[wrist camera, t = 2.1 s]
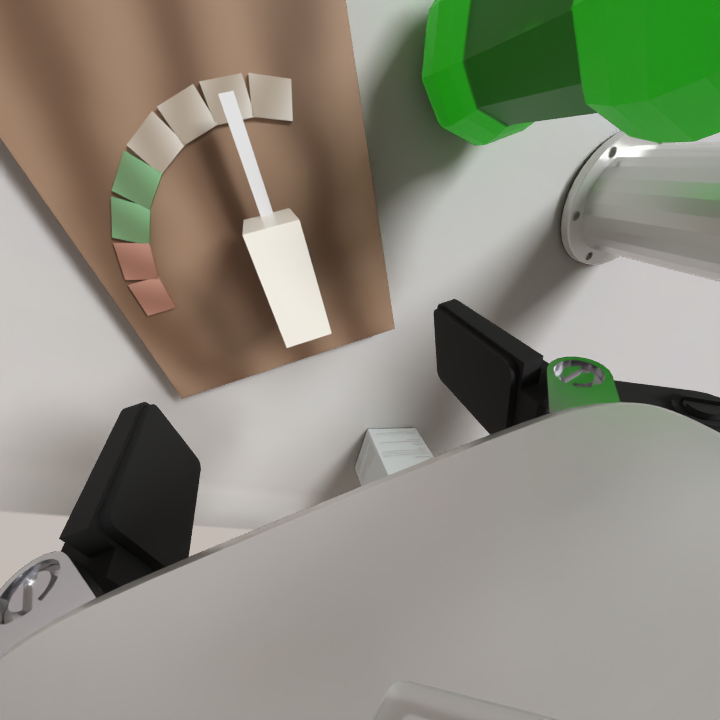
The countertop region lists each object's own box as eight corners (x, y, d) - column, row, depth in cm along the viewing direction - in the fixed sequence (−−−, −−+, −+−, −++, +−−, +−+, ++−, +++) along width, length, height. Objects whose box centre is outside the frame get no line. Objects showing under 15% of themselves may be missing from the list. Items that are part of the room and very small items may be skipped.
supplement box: (353, 468, 43) (385, 564, 33) (366, 427, 40) (408, 519, 29) (400, 465, 46) (444, 553, 35) (417, 426, 42) (471, 511, 32)
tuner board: (317, -96, 17) (327, -135, 15) (385, 317, 32) (395, 329, 30) (-93, -41, 15) (-155, -78, 13) (186, 382, 30) (181, 400, 27)
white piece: (253, 94, 19) (255, 66, 13) (314, 296, 26) (331, 333, 20) (202, 105, 18) (181, 80, 13) (278, 307, 26) (286, 348, 20)
